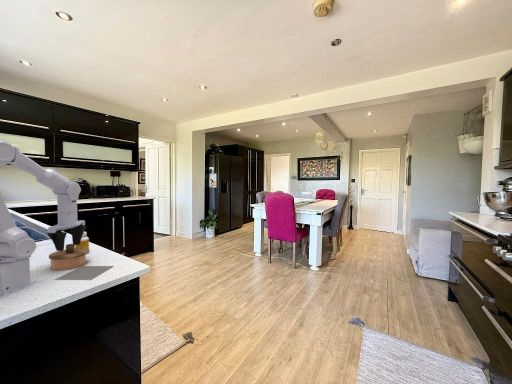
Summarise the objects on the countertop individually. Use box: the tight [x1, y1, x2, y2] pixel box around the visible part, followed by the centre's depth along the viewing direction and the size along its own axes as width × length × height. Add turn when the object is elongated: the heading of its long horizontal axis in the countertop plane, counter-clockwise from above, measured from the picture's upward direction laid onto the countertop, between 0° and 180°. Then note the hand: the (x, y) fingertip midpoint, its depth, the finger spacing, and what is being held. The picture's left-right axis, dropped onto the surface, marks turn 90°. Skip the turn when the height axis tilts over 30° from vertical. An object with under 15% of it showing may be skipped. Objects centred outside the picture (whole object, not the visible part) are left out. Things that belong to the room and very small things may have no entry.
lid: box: [48, 243, 90, 260], centre depth 86 cm, size 12×12×4 cm
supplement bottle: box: [74, 231, 90, 250], centre depth 100 cm, size 5×5×10 cm
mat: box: [54, 265, 115, 281], centre depth 79 cm, size 12×12×1 cm
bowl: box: [50, 254, 87, 271], centre depth 86 cm, size 10×10×4 cm
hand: (68, 247), depth 86 cm, fingers open, 7 cm apart
